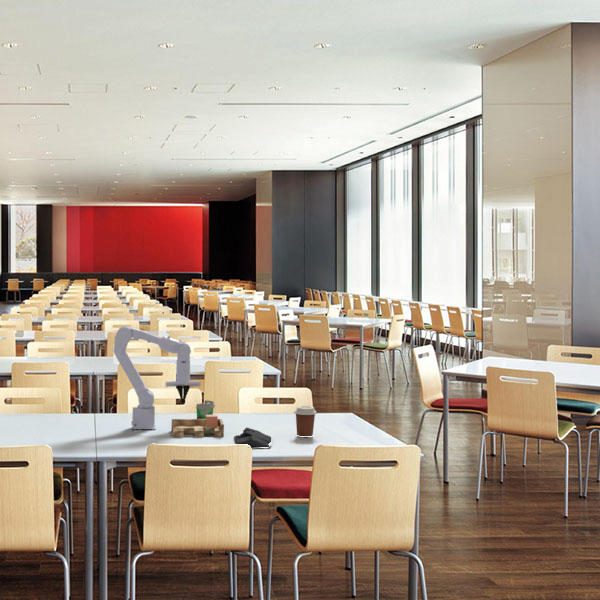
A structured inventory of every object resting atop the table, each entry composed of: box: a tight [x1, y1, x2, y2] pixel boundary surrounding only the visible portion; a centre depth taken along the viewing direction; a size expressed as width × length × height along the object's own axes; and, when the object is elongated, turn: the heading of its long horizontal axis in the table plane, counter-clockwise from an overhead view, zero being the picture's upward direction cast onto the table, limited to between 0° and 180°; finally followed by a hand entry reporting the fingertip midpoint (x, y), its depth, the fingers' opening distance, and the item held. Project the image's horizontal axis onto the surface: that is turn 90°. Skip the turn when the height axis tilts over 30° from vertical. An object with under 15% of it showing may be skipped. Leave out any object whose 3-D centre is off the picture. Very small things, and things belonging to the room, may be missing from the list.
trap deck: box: [170, 418, 225, 438], centre depth 341 cm, size 20×13×5 cm, turn 100°
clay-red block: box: [206, 414, 219, 428], centre depth 345 cm, size 4×4×4 cm
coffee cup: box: [293, 405, 317, 436], centre depth 341 cm, size 9×9×12 cm
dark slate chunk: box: [233, 427, 272, 447], centre depth 325 cm, size 15×22×5 cm
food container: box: [195, 399, 216, 419], centre depth 361 cm, size 12×6×10 cm, turn 168°
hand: (182, 403), depth 353 cm, fingers closed
